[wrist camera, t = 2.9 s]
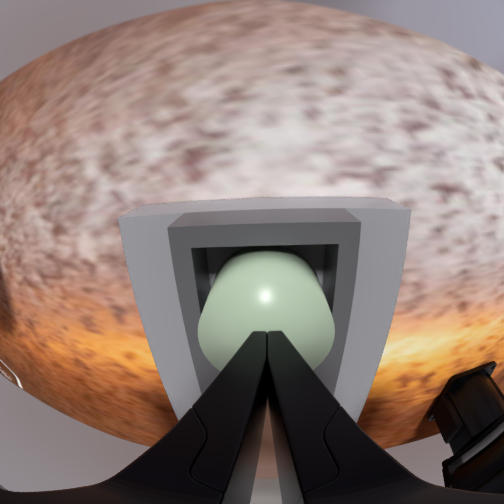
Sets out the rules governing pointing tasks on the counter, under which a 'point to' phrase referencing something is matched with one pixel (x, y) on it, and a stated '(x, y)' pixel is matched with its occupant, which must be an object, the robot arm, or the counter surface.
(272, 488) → the button ivory
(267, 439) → the button terracotta
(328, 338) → the button sage
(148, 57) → the counter surface
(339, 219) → the button panel
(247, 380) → the robot arm
